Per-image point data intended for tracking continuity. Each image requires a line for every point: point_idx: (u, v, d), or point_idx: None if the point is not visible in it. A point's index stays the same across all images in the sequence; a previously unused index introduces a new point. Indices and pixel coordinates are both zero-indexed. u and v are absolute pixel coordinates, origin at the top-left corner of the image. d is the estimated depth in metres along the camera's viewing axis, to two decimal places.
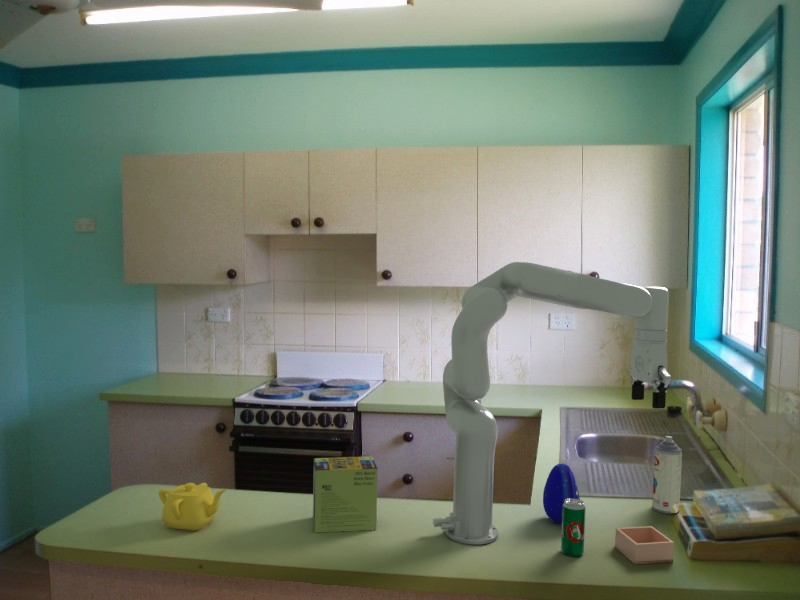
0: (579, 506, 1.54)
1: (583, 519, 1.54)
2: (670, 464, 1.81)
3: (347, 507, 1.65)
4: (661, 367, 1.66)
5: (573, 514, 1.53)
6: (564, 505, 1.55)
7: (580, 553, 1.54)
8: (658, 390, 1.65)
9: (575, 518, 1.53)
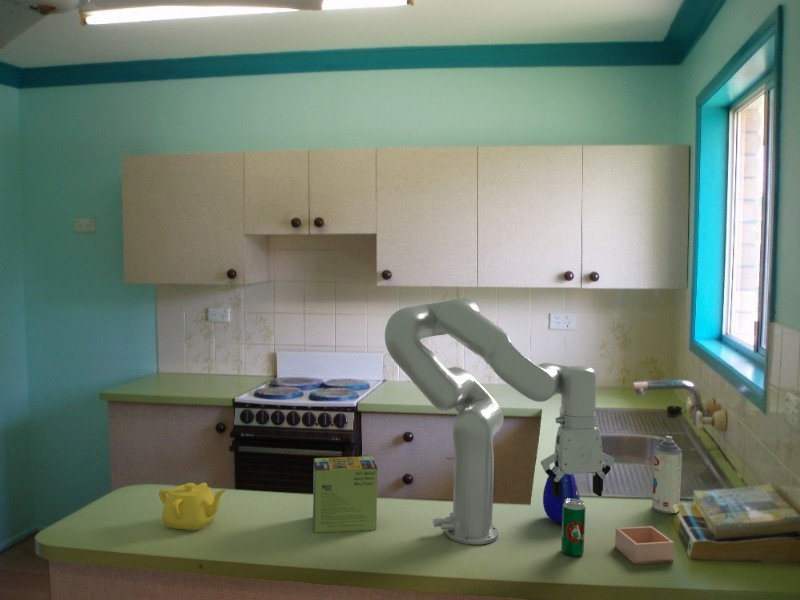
0: (579, 506, 1.54)
1: (583, 519, 1.54)
2: (670, 464, 1.81)
3: (347, 507, 1.65)
4: None
5: (573, 514, 1.53)
6: (564, 505, 1.55)
7: (580, 553, 1.54)
8: None
9: (575, 518, 1.53)
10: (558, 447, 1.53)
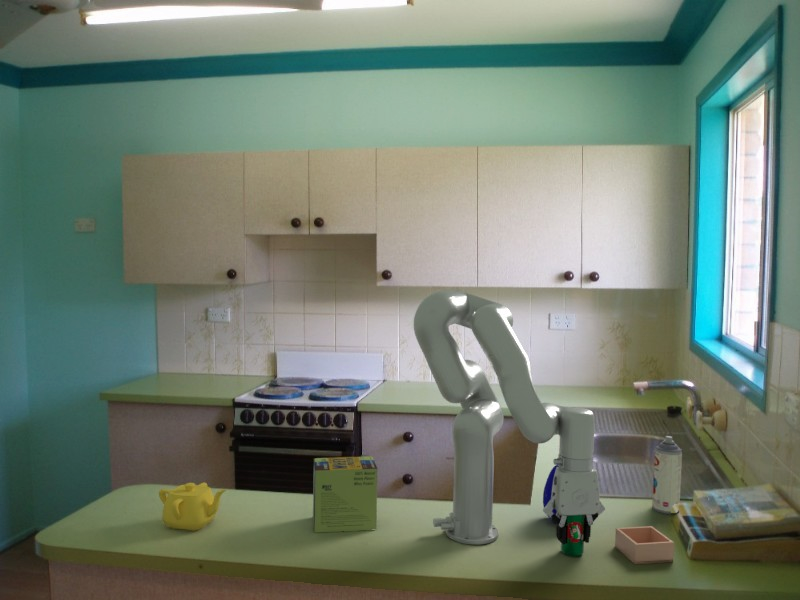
0: None
1: (583, 519, 1.54)
2: (670, 464, 1.81)
3: (347, 507, 1.65)
4: None
5: None
6: None
7: (580, 553, 1.54)
8: None
9: (574, 518, 1.53)
10: (555, 488, 1.54)
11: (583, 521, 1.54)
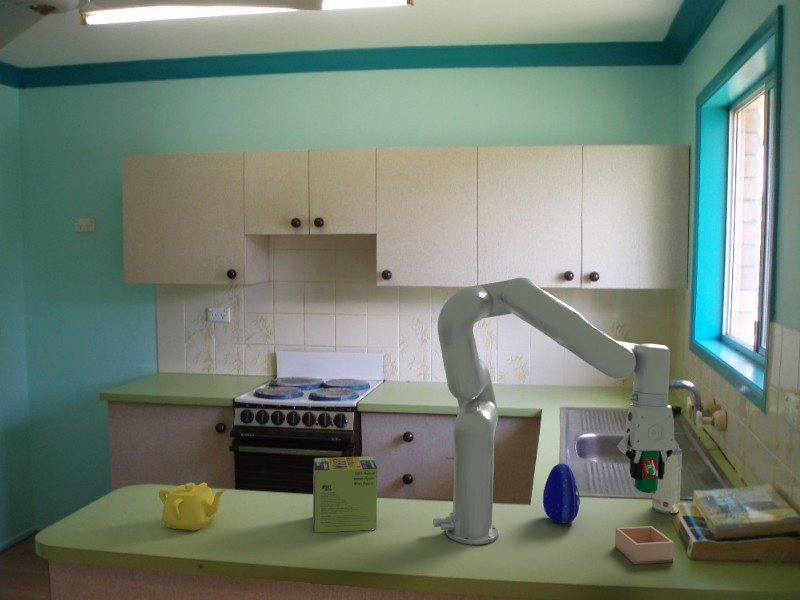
0: None
1: (658, 455, 1.53)
2: (670, 464, 1.81)
3: (347, 507, 1.65)
4: None
5: None
6: None
7: (655, 489, 1.53)
8: None
9: (650, 453, 1.52)
10: (630, 424, 1.53)
11: (658, 457, 1.53)
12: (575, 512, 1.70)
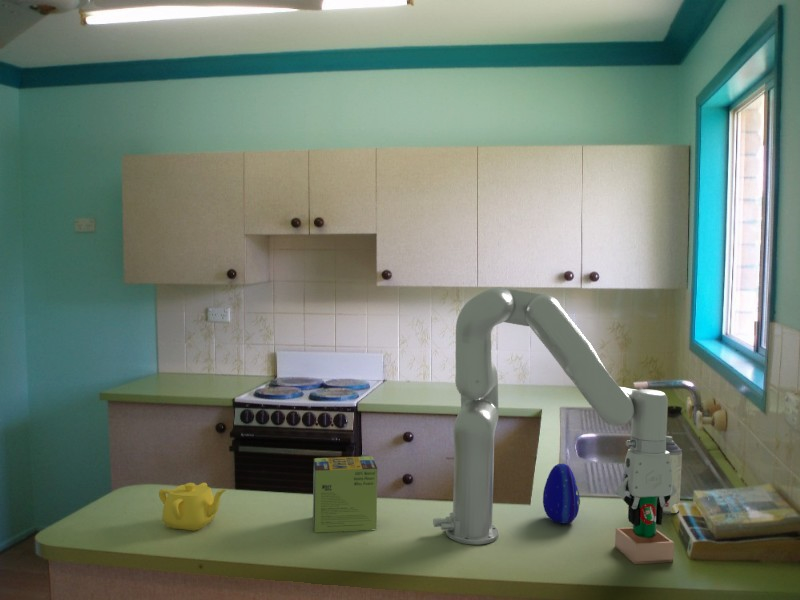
0: None
1: (656, 501, 1.54)
2: None
3: (347, 507, 1.65)
4: None
5: None
6: None
7: (653, 535, 1.54)
8: None
9: (648, 499, 1.53)
10: (628, 470, 1.54)
11: (656, 503, 1.54)
12: (575, 512, 1.70)
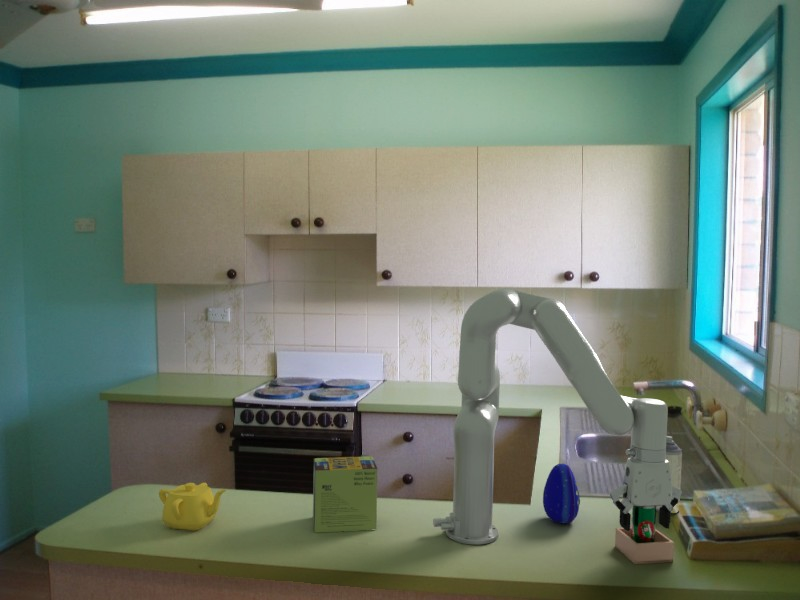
0: None
1: (654, 518, 1.54)
2: (670, 464, 1.81)
3: (347, 507, 1.65)
4: None
5: (645, 513, 1.53)
6: None
7: None
8: None
9: (646, 517, 1.53)
10: (628, 479, 1.54)
11: (654, 520, 1.54)
12: (575, 512, 1.70)
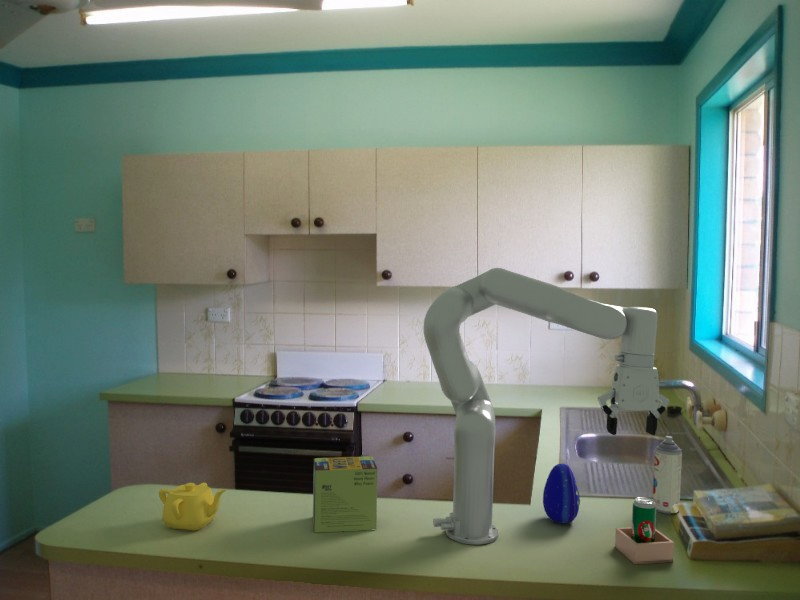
0: (650, 505, 1.54)
1: (654, 518, 1.54)
2: (670, 464, 1.81)
3: (347, 507, 1.65)
4: None
5: (645, 513, 1.53)
6: (635, 504, 1.55)
7: None
8: None
9: (646, 516, 1.53)
10: (616, 384, 1.56)
11: (654, 520, 1.54)
12: (575, 512, 1.70)
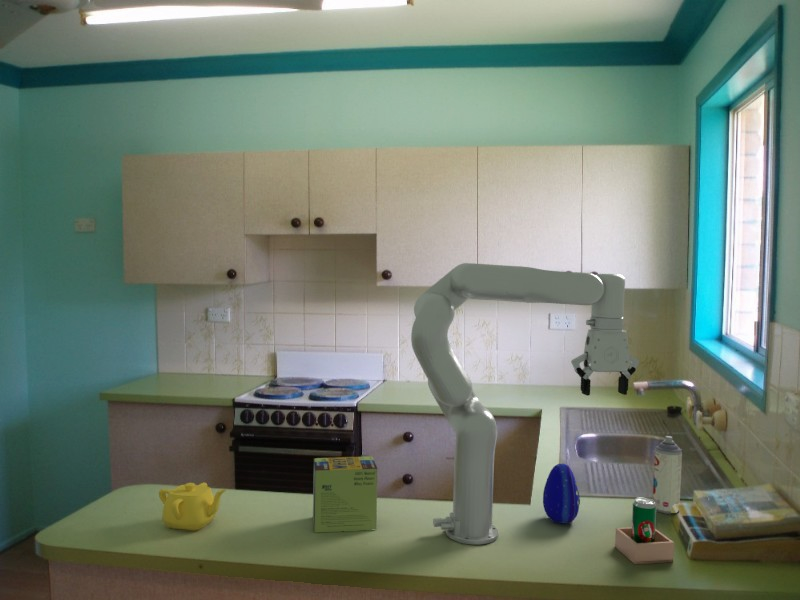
0: (650, 505, 1.54)
1: (654, 518, 1.54)
2: (670, 464, 1.81)
3: (347, 507, 1.65)
4: None
5: (645, 513, 1.53)
6: (635, 504, 1.55)
7: None
8: None
9: (646, 517, 1.53)
10: (588, 347, 1.65)
11: (654, 520, 1.54)
12: (575, 512, 1.70)
